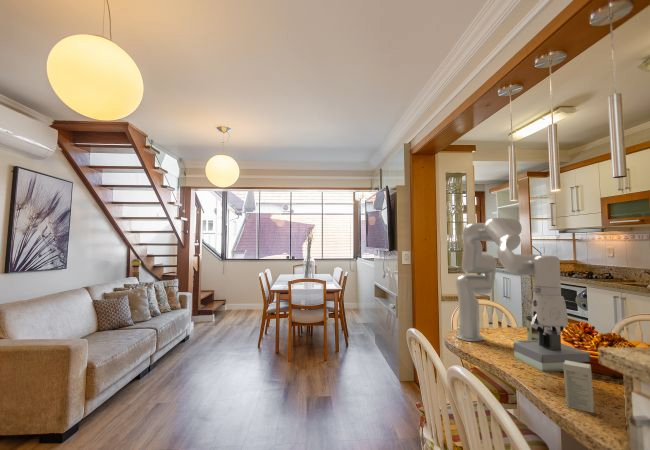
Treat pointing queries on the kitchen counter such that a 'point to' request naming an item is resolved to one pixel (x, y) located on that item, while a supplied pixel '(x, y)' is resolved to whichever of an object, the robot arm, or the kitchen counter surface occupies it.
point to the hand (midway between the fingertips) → (549, 345)
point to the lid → (551, 351)
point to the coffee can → (533, 330)
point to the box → (536, 364)
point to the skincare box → (578, 386)
